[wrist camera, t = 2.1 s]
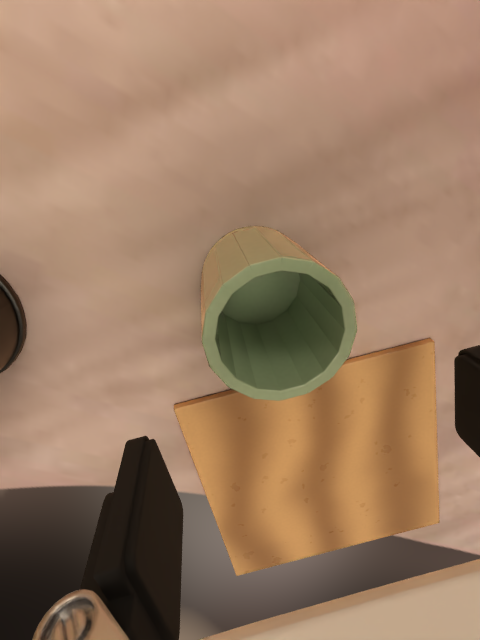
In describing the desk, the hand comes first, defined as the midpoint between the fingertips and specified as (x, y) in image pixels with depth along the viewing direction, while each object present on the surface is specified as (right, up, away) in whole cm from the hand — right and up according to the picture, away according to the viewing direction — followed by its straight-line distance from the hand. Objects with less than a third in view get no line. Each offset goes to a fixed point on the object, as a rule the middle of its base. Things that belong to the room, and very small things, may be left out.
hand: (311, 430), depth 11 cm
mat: (+5, -9, +21) cm, 23 cm away
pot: (-1, +6, +14) cm, 15 cm away
